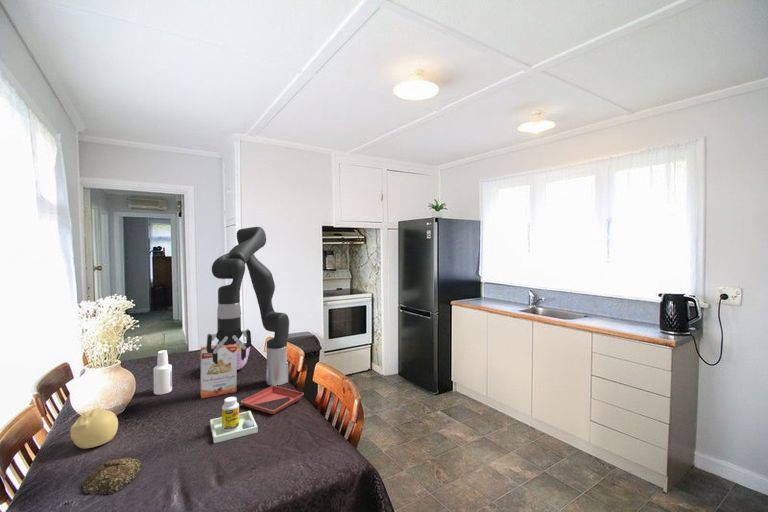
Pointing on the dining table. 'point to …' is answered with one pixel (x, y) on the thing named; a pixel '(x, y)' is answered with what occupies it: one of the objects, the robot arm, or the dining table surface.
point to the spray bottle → (162, 374)
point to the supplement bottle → (230, 414)
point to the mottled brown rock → (112, 476)
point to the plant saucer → (272, 398)
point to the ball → (247, 424)
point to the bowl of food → (240, 362)
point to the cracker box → (219, 371)
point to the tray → (223, 435)
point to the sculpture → (94, 428)
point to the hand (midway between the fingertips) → (229, 361)
